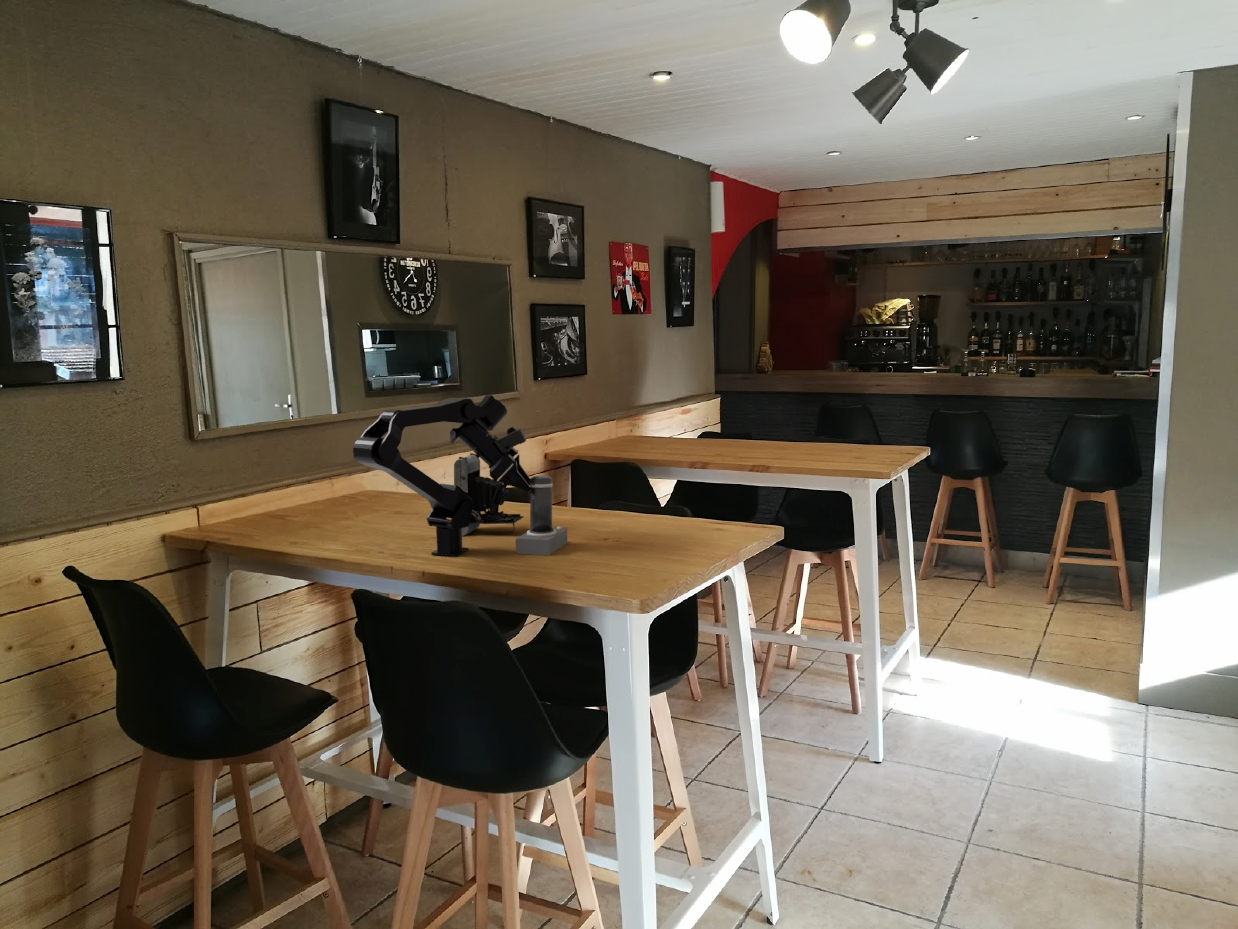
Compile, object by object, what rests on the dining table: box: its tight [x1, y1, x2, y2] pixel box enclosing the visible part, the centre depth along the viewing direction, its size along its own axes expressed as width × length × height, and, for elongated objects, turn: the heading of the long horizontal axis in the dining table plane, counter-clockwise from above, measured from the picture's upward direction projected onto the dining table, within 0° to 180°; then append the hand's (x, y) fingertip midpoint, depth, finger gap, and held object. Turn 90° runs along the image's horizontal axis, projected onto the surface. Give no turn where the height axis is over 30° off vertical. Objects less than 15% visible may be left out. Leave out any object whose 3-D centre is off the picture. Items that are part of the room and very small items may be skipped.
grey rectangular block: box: [515, 526, 568, 556], centre depth 206 cm, size 12×8×4 cm, turn 164°
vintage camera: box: [453, 452, 524, 537], centre depth 224 cm, size 10×15×20 cm, turn 79°
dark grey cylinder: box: [529, 475, 553, 532], centre depth 205 cm, size 5×5×12 cm
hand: (530, 487), depth 210 cm, fingers open, 9 cm apart
